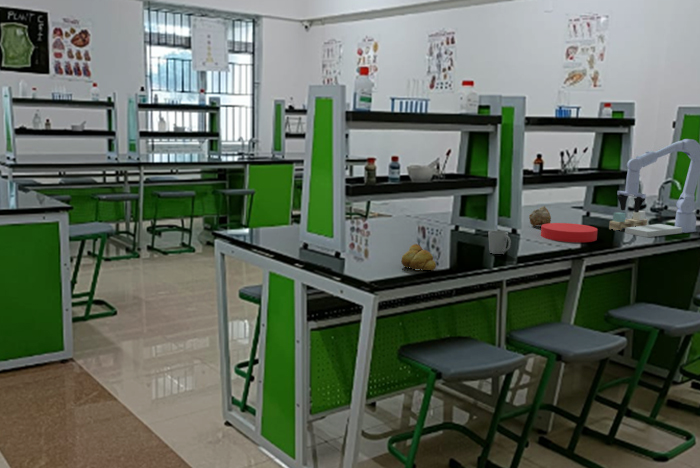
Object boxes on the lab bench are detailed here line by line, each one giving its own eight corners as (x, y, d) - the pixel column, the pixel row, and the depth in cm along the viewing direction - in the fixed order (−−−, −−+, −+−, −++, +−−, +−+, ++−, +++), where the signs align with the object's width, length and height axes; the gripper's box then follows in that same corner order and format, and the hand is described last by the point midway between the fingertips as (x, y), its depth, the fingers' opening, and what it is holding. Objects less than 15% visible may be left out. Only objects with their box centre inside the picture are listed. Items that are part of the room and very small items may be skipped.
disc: (609, 230, 293) (569, 233, 282) (608, 240, 294) (569, 244, 283) (568, 221, 314) (530, 224, 303) (567, 231, 315) (529, 235, 304)
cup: (496, 250, 266) (497, 229, 264) (515, 255, 258) (517, 233, 256) (483, 252, 261) (484, 231, 260) (502, 257, 253) (503, 235, 252)
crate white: (637, 218, 332) (638, 210, 331) (644, 219, 329) (645, 211, 328) (632, 218, 330) (633, 211, 329) (639, 220, 327) (640, 212, 326)
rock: (551, 228, 320) (552, 208, 318) (529, 227, 322) (530, 207, 320) (549, 224, 332) (550, 205, 330) (527, 223, 334) (529, 204, 332)
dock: (659, 228, 326) (659, 223, 326) (682, 232, 316) (682, 227, 316) (624, 232, 313) (625, 227, 312) (647, 237, 303) (648, 231, 302)
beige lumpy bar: (637, 225, 334) (638, 218, 333) (646, 227, 330) (647, 219, 329) (609, 229, 323) (609, 221, 322) (617, 230, 319) (618, 222, 318)
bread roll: (441, 270, 230) (442, 248, 229) (421, 274, 224) (422, 251, 223) (415, 264, 240) (416, 242, 239) (395, 267, 234) (396, 245, 233)
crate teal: (618, 220, 324) (618, 212, 324) (625, 221, 321) (625, 213, 320) (612, 220, 322) (613, 212, 322) (619, 222, 319) (620, 213, 318)
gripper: (614, 182, 326) (611, 209, 329) (640, 185, 314) (637, 213, 317) (623, 181, 330) (621, 208, 332) (649, 184, 318) (646, 212, 320)
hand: (629, 211), depth 325 cm, fingers open, 7 cm apart
